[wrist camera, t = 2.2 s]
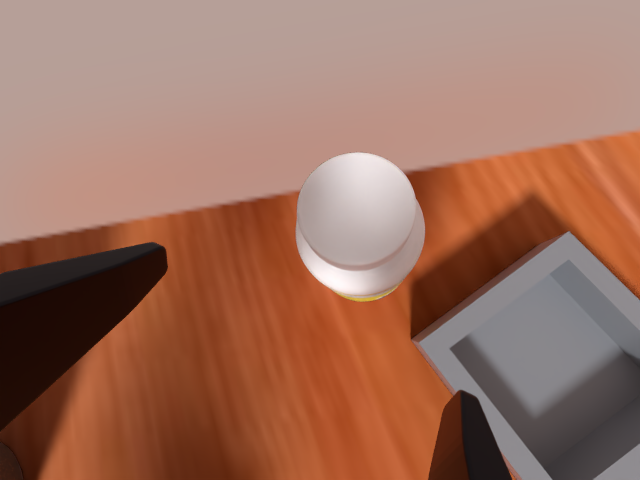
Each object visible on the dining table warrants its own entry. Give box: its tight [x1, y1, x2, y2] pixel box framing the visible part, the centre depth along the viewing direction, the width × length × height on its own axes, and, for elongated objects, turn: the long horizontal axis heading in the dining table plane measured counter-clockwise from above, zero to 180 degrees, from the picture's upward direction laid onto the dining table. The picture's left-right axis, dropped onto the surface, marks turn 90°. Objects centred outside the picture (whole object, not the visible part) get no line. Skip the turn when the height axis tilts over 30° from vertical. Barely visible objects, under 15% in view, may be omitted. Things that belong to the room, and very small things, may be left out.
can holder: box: [411, 231, 640, 480], centre depth 16 cm, size 9×9×3 cm
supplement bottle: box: [296, 152, 425, 302], centre depth 15 cm, size 5×5×10 cm
